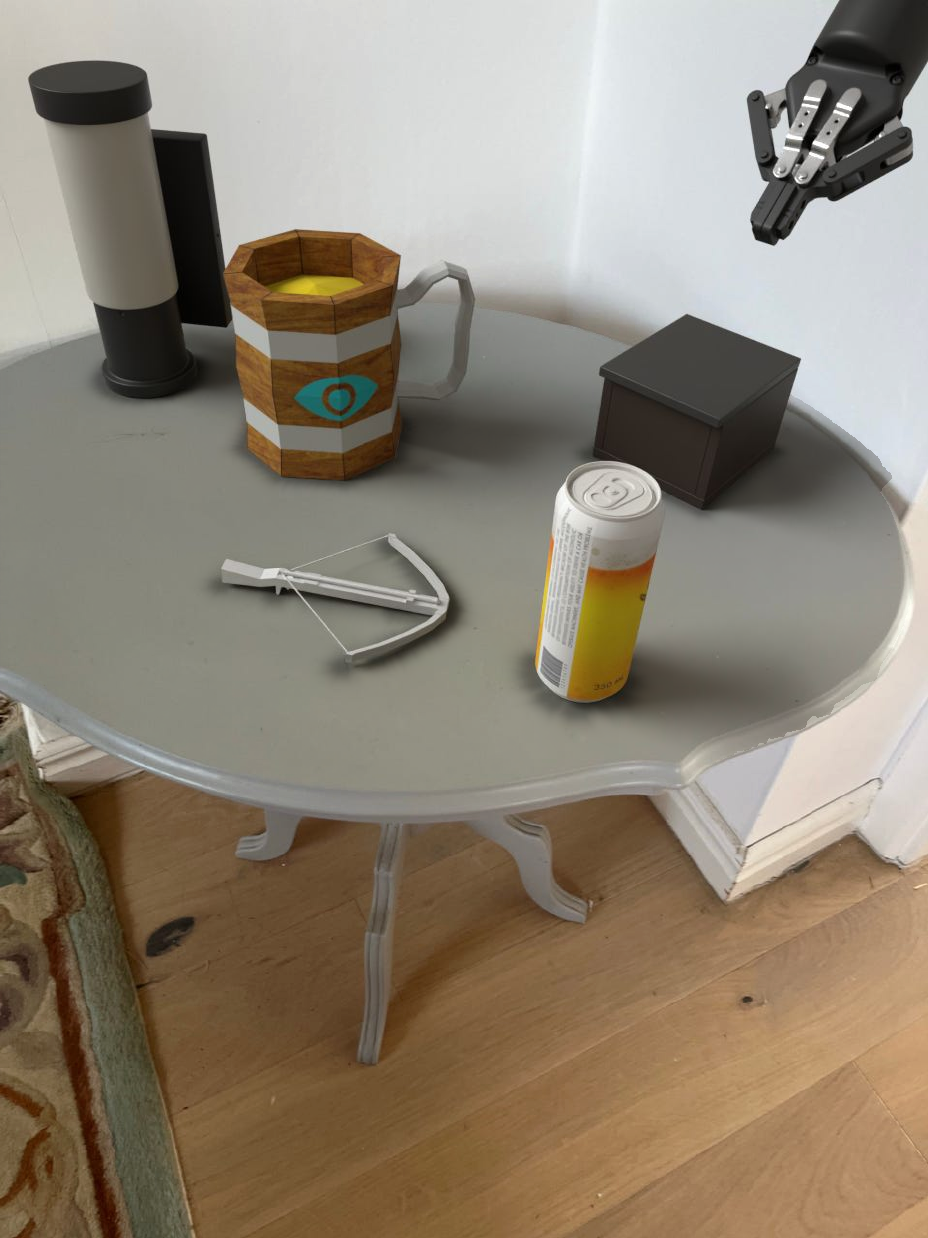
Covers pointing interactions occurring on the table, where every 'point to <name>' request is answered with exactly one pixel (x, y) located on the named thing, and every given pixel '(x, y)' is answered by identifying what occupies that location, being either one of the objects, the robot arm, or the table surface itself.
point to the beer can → (597, 578)
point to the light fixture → (135, 221)
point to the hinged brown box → (687, 440)
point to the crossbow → (353, 594)
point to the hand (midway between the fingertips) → (763, 237)
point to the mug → (329, 349)
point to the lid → (700, 369)
